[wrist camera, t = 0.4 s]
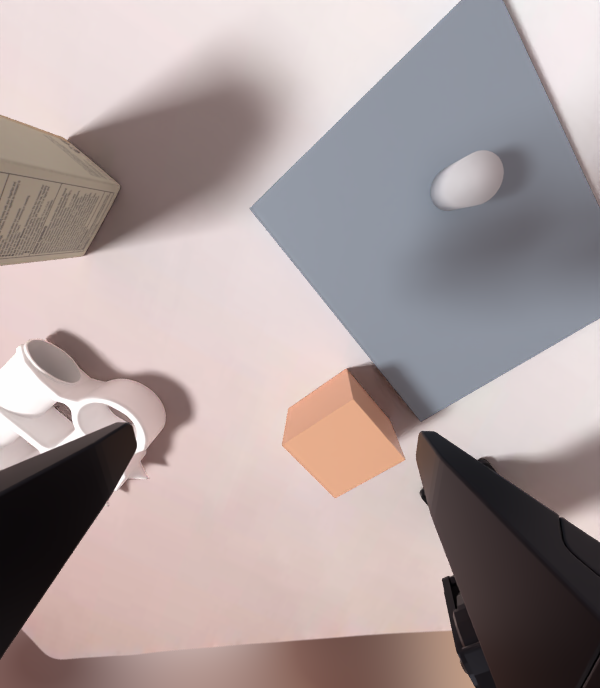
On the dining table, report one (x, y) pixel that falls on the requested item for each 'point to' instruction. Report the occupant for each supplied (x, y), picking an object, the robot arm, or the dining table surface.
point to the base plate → (446, 215)
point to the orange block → (341, 435)
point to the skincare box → (48, 196)
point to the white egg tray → (79, 395)
